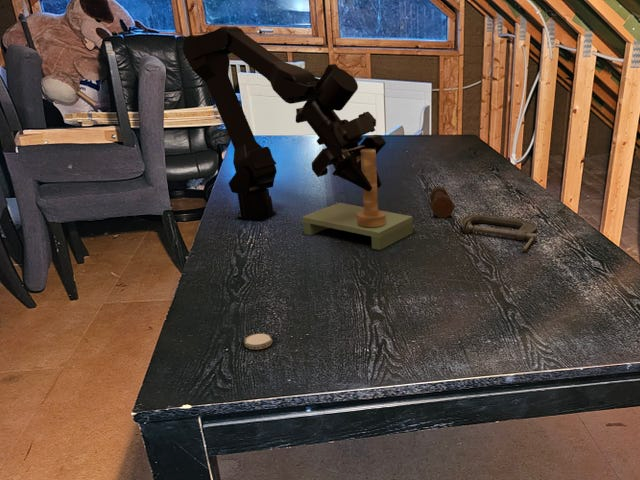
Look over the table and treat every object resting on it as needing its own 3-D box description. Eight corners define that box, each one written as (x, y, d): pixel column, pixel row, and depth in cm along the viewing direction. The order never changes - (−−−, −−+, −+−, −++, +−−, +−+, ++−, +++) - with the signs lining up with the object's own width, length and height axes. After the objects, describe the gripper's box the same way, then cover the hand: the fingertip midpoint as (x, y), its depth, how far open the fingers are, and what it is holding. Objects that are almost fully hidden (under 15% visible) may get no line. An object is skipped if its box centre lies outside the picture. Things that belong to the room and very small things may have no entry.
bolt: (440, 206, 170) (446, 222, 156) (423, 197, 168) (427, 212, 155) (452, 187, 168) (458, 201, 154) (434, 177, 166) (439, 191, 153)
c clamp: (553, 230, 150) (554, 218, 149) (526, 253, 136) (526, 240, 135) (473, 216, 157) (474, 205, 156) (440, 237, 144) (440, 225, 142)
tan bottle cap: (239, 343, 98) (238, 339, 98) (261, 334, 101) (261, 330, 101) (255, 351, 96) (254, 348, 96) (277, 342, 99) (277, 338, 99)
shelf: (303, 233, 143) (302, 216, 141) (340, 218, 153) (339, 202, 151) (379, 250, 136) (378, 232, 134) (413, 233, 146) (412, 216, 144)
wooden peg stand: (357, 227, 135) (353, 153, 128) (357, 218, 140) (352, 147, 133) (386, 227, 136) (383, 153, 129) (385, 218, 142) (382, 147, 134)
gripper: (318, 104, 121) (370, 173, 122) (376, 93, 135) (422, 155, 136) (289, 143, 128) (339, 208, 129) (347, 129, 142) (392, 187, 143)
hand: (375, 188), depth 134 cm, fingers closed on wooden peg stand, 3 cm apart
